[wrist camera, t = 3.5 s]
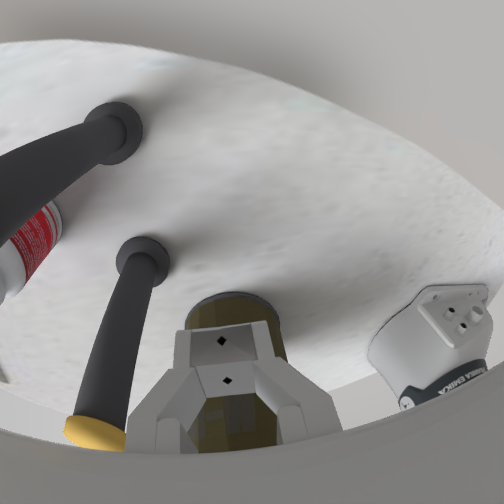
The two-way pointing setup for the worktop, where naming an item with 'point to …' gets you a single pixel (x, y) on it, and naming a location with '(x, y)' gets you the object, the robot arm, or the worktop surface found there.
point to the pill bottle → (28, 249)
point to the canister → (241, 405)
